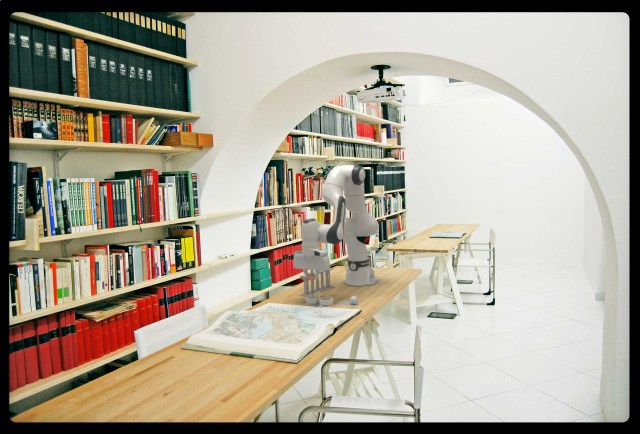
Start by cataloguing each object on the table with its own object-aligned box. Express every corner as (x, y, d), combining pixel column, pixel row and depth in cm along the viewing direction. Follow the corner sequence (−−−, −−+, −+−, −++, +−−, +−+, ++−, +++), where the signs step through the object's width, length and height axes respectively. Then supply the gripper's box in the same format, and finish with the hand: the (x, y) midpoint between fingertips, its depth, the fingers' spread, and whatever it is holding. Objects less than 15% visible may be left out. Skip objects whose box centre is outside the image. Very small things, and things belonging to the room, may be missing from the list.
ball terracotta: (306, 281, 242) (306, 273, 242) (310, 279, 245) (310, 272, 245) (312, 281, 240) (312, 274, 240) (317, 280, 243) (316, 272, 243)
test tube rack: (306, 297, 257) (305, 272, 255) (300, 296, 259) (299, 271, 258) (334, 287, 276) (333, 264, 275) (328, 286, 279) (327, 264, 278)
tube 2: (324, 301, 244) (323, 296, 244) (335, 302, 240) (335, 297, 240) (316, 304, 239) (316, 299, 238) (328, 306, 235) (328, 301, 235)
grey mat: (342, 301, 244) (342, 300, 243) (360, 303, 238) (360, 303, 238) (336, 304, 238) (336, 303, 238) (354, 307, 233) (354, 306, 233)
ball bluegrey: (352, 302, 239) (352, 294, 239) (359, 303, 237) (359, 295, 237) (348, 304, 236) (348, 296, 236) (355, 305, 234) (355, 297, 234)
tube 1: (311, 299, 249) (310, 294, 248) (322, 301, 245) (321, 296, 245) (303, 302, 243) (303, 297, 243) (314, 304, 239) (314, 299, 239)
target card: (310, 300, 249) (310, 299, 249) (335, 303, 241) (335, 302, 241) (299, 305, 240) (299, 304, 240) (325, 308, 232) (325, 307, 232)
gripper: (290, 251, 245) (291, 277, 246) (324, 253, 233) (325, 281, 234) (297, 249, 250) (298, 275, 251) (331, 251, 239) (331, 278, 240)
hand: (311, 278), depth 243 cm, fingers closed on ball terracotta, 4 cm apart
